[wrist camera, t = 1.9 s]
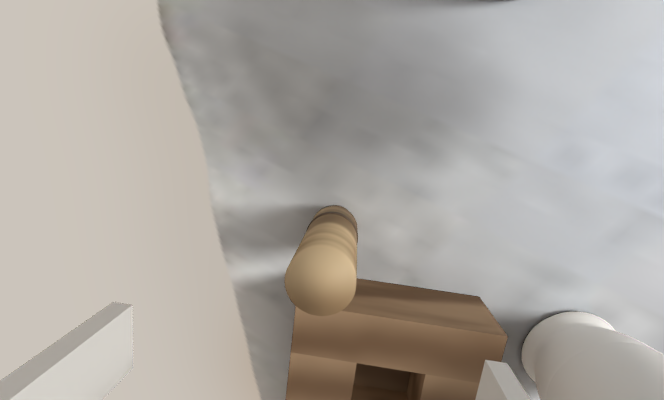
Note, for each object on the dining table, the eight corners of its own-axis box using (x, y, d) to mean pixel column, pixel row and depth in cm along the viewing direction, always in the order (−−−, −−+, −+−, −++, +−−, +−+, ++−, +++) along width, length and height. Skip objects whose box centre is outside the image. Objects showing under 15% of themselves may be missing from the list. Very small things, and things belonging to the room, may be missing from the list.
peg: (315, 198, 30) (287, 243, 18) (360, 204, 29) (362, 254, 18) (310, 241, 30) (280, 310, 19) (354, 247, 30) (351, 322, 19)
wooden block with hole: (307, 271, 31) (295, 303, 25) (479, 296, 30) (507, 336, 24) (289, 426, 35) (276, 486, 29) (441, 453, 34) (458, 520, 28)
